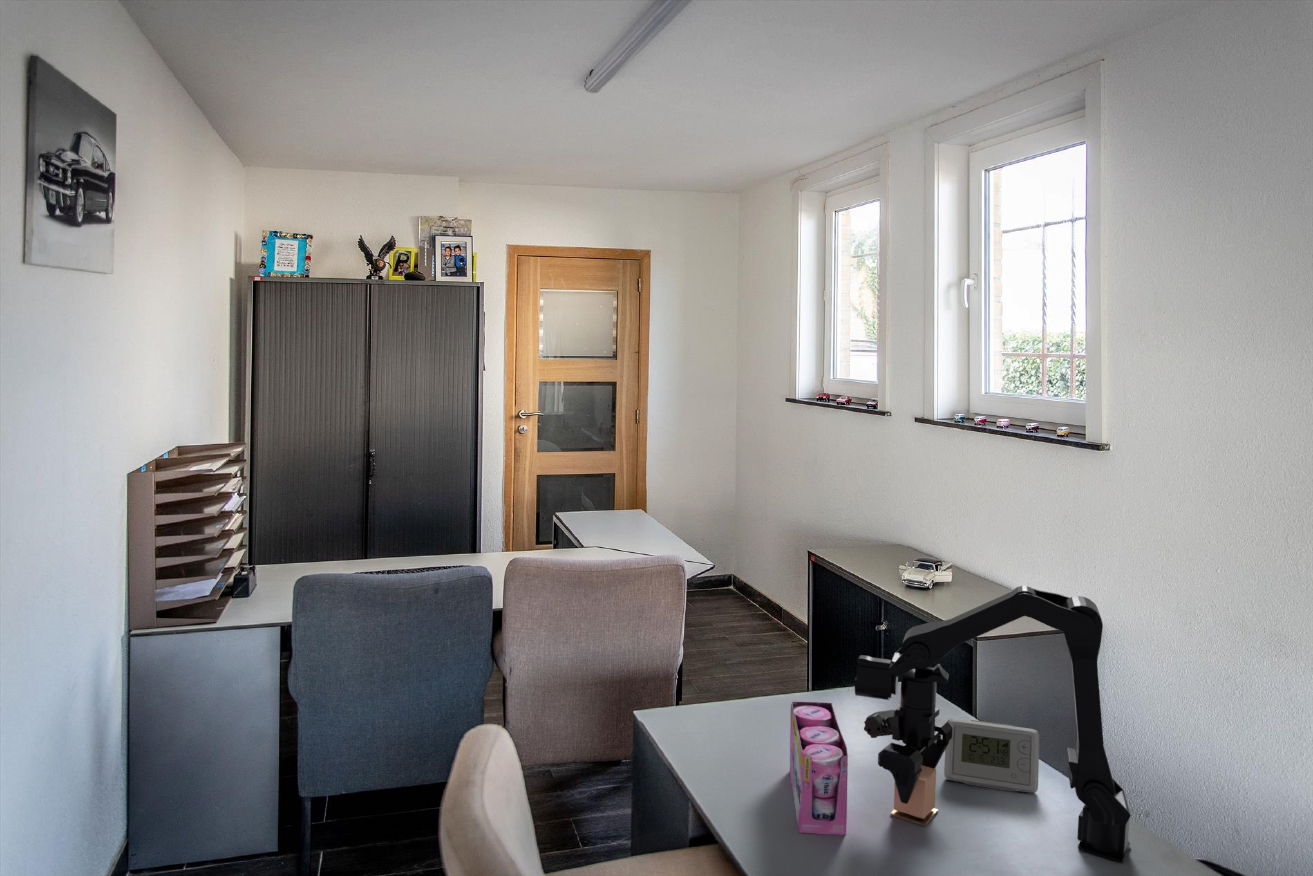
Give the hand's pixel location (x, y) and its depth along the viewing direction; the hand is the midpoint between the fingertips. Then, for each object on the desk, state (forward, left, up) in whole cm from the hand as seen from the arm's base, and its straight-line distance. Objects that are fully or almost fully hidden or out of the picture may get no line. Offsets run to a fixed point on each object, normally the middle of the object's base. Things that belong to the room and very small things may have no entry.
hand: (914, 792), depth 155 cm
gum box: (+15, +6, -4) cm, 17 cm away
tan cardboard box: (0, 0, -3) cm, 3 cm away
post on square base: (0, 0, -4) cm, 4 cm away
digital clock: (-7, -20, -4) cm, 21 cm away
